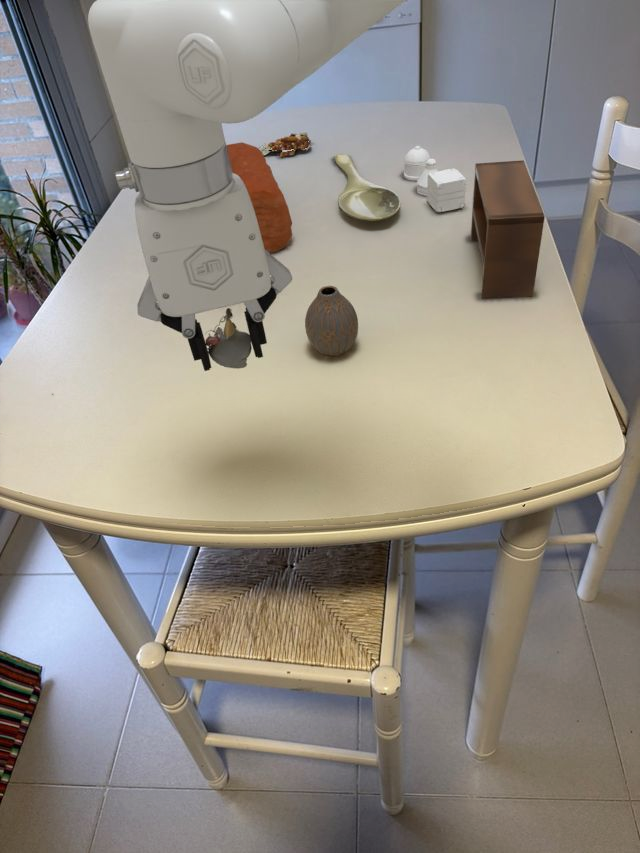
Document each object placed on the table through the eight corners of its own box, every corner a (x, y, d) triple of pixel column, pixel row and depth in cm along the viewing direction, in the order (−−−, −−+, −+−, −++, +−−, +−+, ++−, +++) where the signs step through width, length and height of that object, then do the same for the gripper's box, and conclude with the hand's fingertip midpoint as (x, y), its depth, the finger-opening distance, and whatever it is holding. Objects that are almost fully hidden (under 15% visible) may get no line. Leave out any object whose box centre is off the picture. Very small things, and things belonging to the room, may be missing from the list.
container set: (465, 209, 112) (466, 178, 108) (436, 215, 111) (437, 184, 108) (425, 167, 126) (426, 138, 123) (400, 172, 126) (399, 143, 122)
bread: (270, 186, 127) (261, 130, 120) (299, 248, 108) (290, 186, 100) (192, 202, 125) (178, 146, 118) (207, 267, 106) (191, 205, 99)
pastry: (256, 149, 142) (253, 132, 140) (310, 141, 142) (308, 124, 140) (257, 161, 137) (254, 144, 135) (313, 153, 137) (311, 136, 135)
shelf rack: (515, 235, 104) (523, 160, 95) (532, 296, 91) (544, 215, 83) (470, 237, 105) (475, 163, 96) (481, 298, 92) (488, 219, 83)
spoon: (316, 168, 135) (315, 157, 134) (365, 160, 136) (365, 149, 134) (349, 233, 108) (348, 221, 107) (411, 222, 109) (411, 210, 108)
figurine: (252, 375, 62) (240, 323, 58) (207, 379, 63) (192, 328, 59) (257, 343, 66) (246, 292, 62) (215, 347, 66) (201, 296, 62)
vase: (298, 353, 86) (289, 297, 80) (327, 327, 90) (321, 271, 84) (341, 368, 83) (335, 311, 77) (369, 340, 87) (366, 283, 81)
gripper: (76, 215, 48) (149, 400, 60) (296, 167, 50) (323, 357, 62) (79, 178, 54) (146, 355, 66) (277, 137, 55) (306, 317, 68)
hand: (231, 354), depth 64 cm, fingers closed on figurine, 4 cm apart
